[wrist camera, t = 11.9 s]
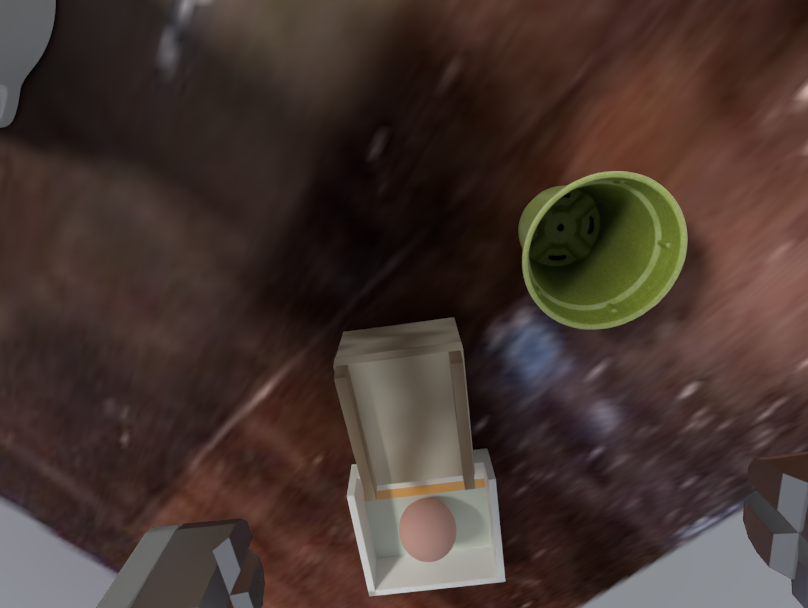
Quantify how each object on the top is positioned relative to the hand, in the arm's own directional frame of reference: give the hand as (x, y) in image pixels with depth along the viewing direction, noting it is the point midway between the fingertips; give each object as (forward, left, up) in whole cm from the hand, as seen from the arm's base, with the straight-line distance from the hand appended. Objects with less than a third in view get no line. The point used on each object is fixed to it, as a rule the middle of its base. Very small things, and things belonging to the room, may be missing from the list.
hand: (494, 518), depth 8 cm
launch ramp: (-3, -14, -29) cm, 32 cm away
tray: (-3, -26, -29) cm, 39 cm away
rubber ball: (-3, -25, -28) cm, 37 cm away
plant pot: (+10, -2, -29) cm, 31 cm away
